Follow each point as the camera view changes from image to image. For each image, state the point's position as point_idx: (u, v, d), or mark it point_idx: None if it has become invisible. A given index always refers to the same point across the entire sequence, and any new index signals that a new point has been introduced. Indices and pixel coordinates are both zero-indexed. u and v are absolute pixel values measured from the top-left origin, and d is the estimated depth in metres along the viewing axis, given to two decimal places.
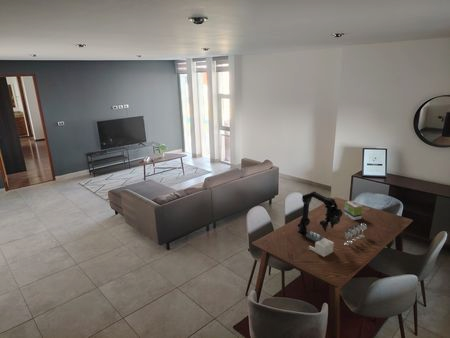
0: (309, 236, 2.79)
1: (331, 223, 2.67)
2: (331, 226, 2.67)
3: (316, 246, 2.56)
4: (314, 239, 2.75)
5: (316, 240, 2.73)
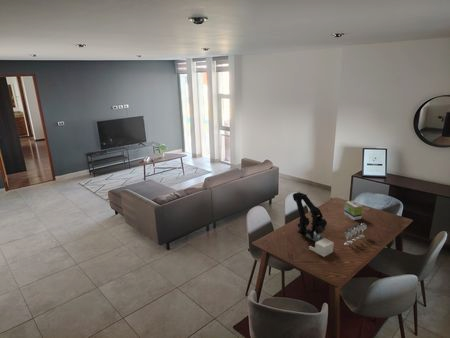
0: (309, 236, 2.79)
1: (316, 232, 2.80)
2: None
3: (316, 246, 2.56)
4: (314, 239, 2.75)
5: (316, 240, 2.73)
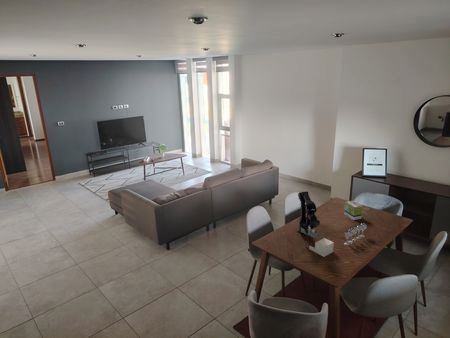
0: (303, 231, 2.69)
1: (310, 226, 2.70)
2: None
3: (316, 246, 2.56)
4: (309, 234, 2.65)
5: (311, 235, 2.63)
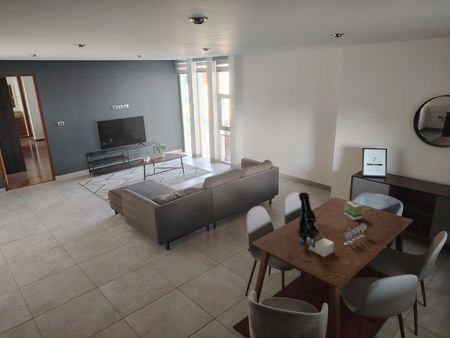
0: None
1: (311, 235, 2.73)
2: (311, 238, 2.73)
3: (316, 246, 2.56)
4: (308, 244, 2.68)
5: (310, 245, 2.66)
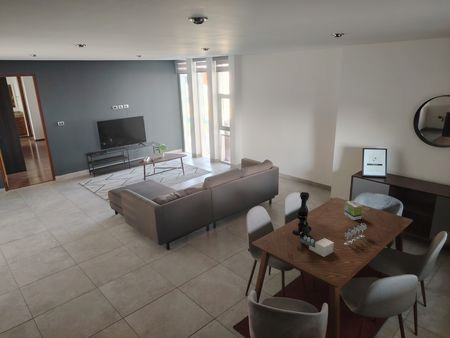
0: (303, 241, 2.72)
1: None
2: None
3: (316, 246, 2.56)
4: (308, 244, 2.67)
5: (310, 245, 2.66)
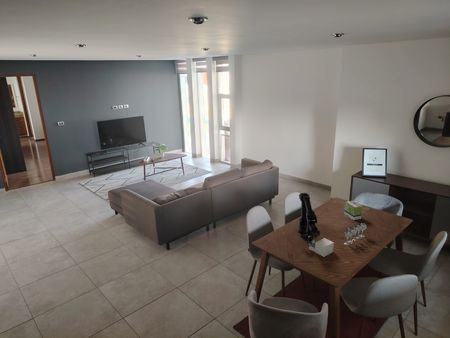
0: (311, 245, 2.65)
1: (309, 238, 2.70)
2: None
3: (316, 246, 2.56)
4: None
5: None
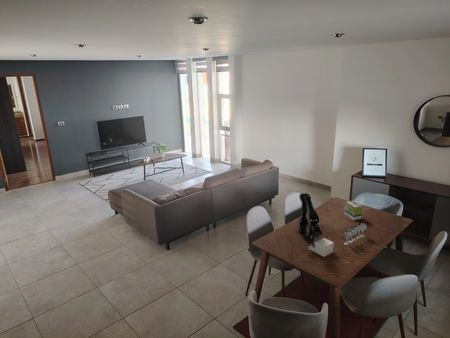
0: (314, 246, 2.63)
1: (311, 238, 2.68)
2: None
3: (316, 246, 2.56)
4: None
5: None
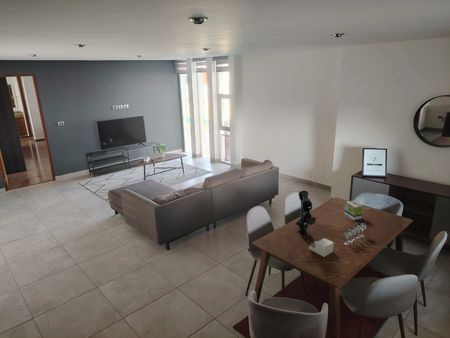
0: (314, 246, 2.63)
1: None
2: None
3: (316, 246, 2.56)
4: None
5: None
